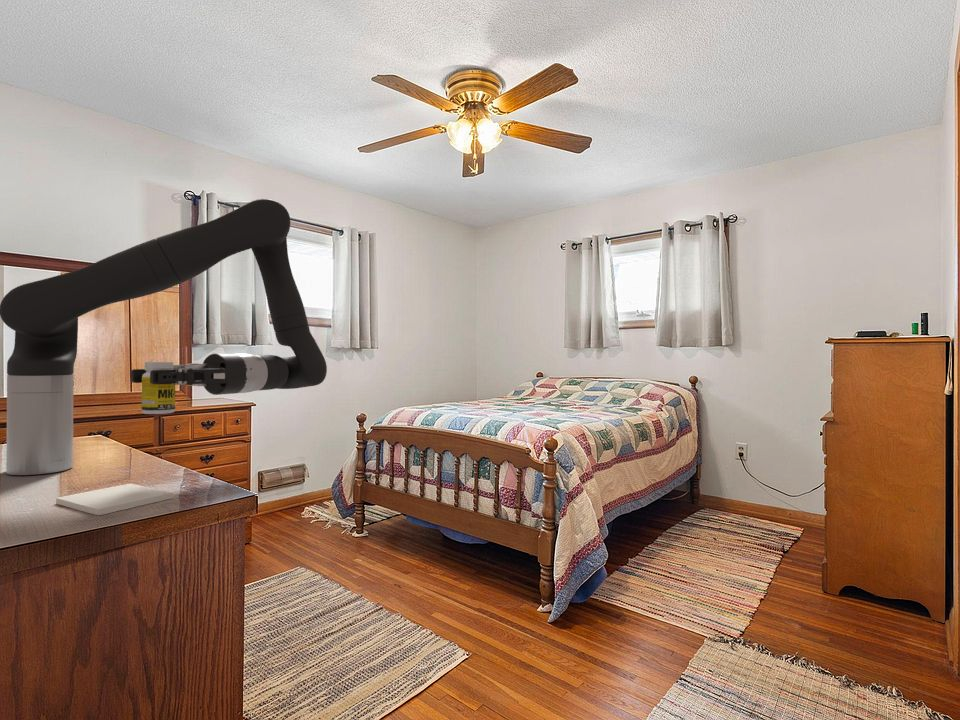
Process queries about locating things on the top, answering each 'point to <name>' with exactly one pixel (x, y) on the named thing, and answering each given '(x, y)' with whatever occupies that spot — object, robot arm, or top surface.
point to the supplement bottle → (157, 391)
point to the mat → (113, 498)
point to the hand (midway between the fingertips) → (142, 376)
